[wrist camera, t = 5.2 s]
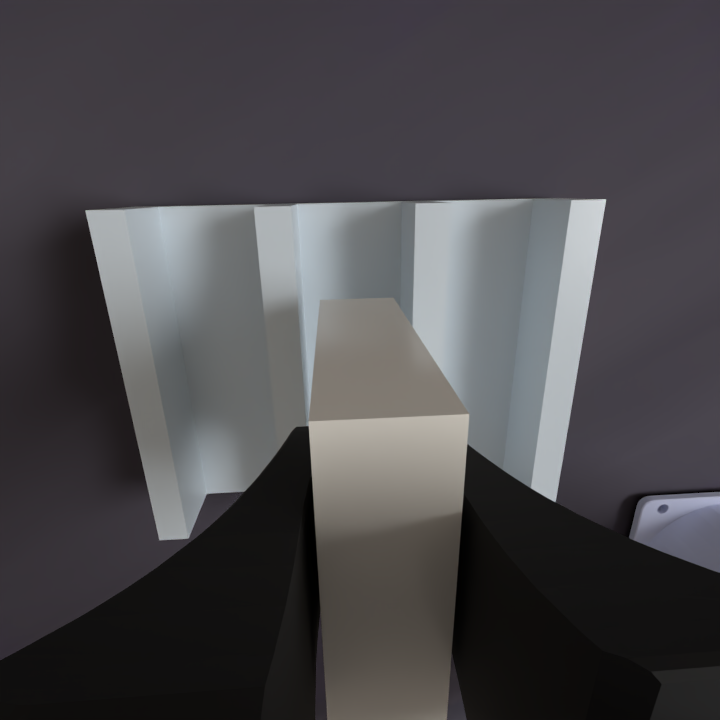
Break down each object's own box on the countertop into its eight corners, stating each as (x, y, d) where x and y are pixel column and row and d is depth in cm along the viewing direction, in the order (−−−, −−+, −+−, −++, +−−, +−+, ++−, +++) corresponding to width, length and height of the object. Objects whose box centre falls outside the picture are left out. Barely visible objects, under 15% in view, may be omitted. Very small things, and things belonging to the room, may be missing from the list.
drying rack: (551, 198, 16) (609, 199, 12) (518, 462, 20) (555, 516, 16) (135, 206, 15) (81, 210, 12) (186, 480, 19) (156, 540, 16)
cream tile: (393, 297, 12) (469, 414, 6) (391, 483, 14) (445, 729, 8) (320, 299, 12) (308, 421, 5) (329, 486, 14) (328, 739, 7)
